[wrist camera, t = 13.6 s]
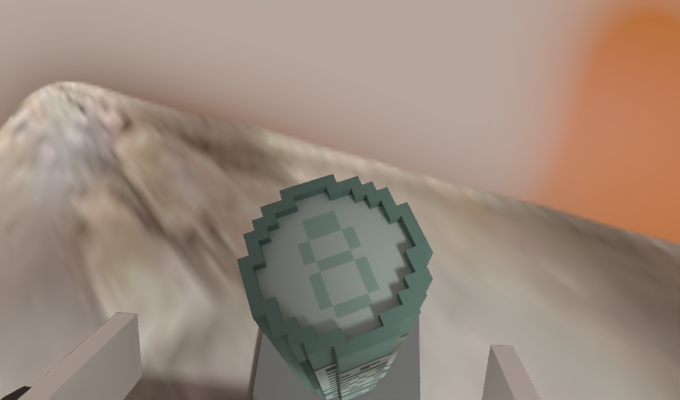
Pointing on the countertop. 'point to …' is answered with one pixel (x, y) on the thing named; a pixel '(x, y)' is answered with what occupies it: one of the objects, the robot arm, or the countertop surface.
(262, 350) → the mat
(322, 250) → the can
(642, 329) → the countertop surface
